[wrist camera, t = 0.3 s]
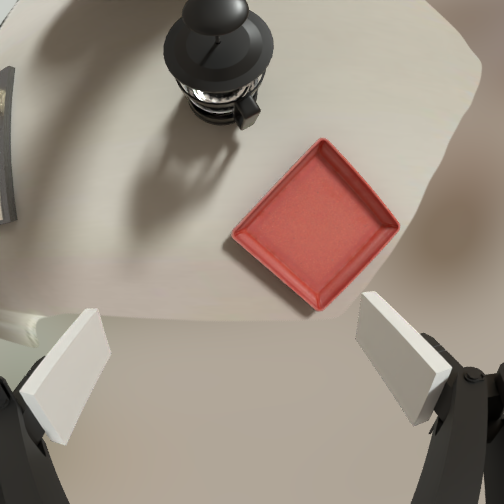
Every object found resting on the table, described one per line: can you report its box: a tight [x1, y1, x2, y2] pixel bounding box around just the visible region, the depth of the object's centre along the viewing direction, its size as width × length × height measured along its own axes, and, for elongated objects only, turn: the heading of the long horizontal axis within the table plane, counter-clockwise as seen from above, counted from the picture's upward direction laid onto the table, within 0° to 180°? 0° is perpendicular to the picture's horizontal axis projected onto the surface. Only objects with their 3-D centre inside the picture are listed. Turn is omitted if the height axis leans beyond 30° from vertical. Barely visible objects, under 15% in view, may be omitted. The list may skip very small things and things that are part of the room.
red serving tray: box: [231, 138, 400, 311], centre depth 40 cm, size 18×18×3 cm
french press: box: [163, 0, 274, 130], centre depth 24 cm, size 12×9×23 cm
